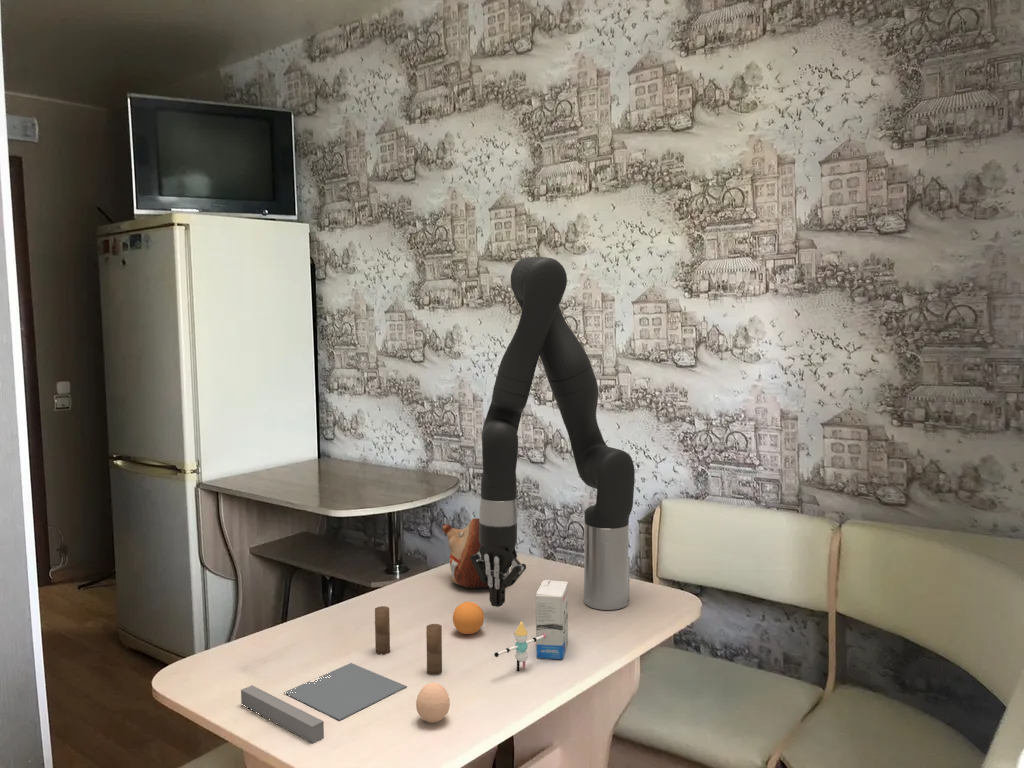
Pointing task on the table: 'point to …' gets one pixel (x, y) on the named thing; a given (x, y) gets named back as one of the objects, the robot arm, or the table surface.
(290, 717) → the wall
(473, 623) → the ball
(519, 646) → the toy figure
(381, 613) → the post
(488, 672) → the table surface
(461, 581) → the figurine
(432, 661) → the post
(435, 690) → the egg
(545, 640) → the ink box
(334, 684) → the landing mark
